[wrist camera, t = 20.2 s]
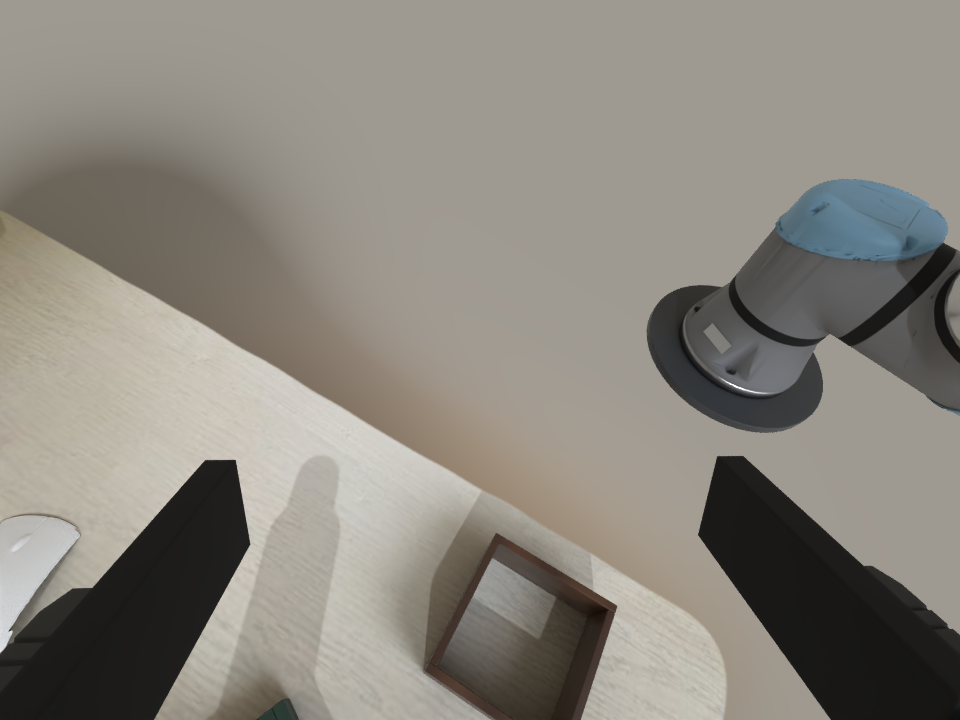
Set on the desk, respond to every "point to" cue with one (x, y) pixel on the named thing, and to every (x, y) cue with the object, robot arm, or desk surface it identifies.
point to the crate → (562, 588)
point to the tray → (280, 712)
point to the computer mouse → (28, 561)
